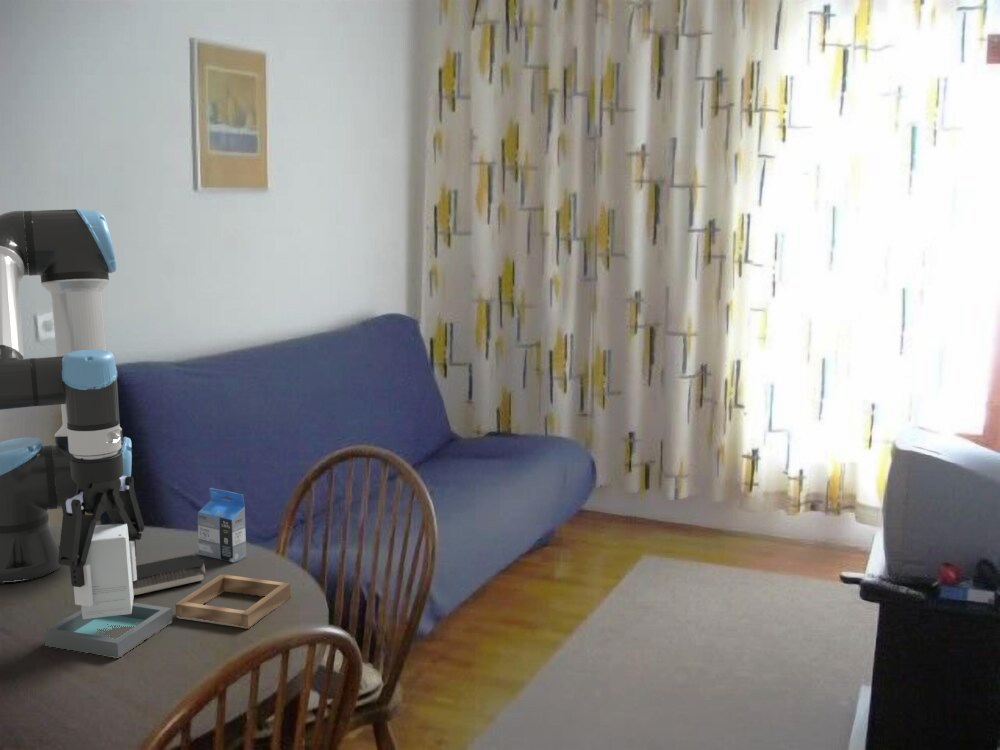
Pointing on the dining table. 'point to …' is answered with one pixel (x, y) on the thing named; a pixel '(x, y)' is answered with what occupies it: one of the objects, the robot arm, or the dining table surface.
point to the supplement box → (110, 572)
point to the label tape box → (222, 527)
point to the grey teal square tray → (81, 631)
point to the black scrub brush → (168, 574)
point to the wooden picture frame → (270, 589)
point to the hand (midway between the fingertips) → (107, 591)
